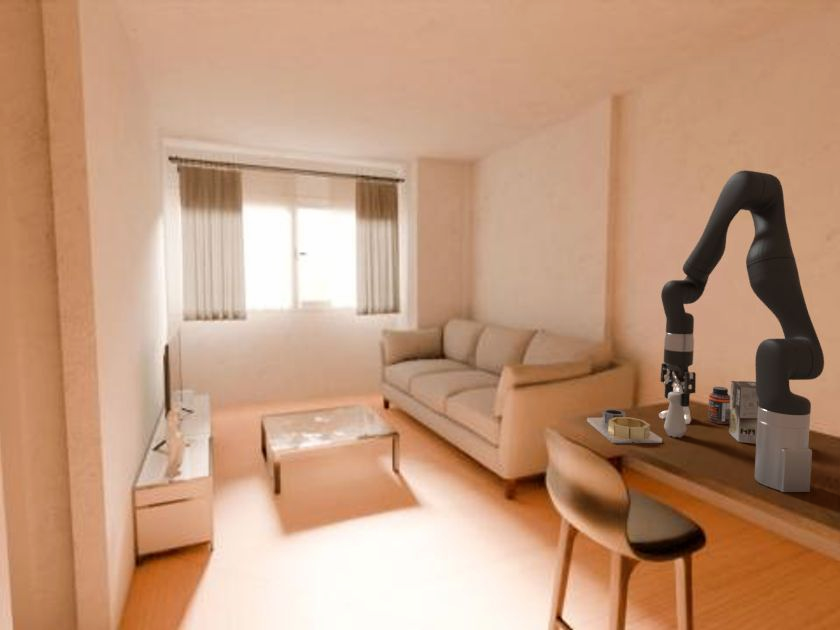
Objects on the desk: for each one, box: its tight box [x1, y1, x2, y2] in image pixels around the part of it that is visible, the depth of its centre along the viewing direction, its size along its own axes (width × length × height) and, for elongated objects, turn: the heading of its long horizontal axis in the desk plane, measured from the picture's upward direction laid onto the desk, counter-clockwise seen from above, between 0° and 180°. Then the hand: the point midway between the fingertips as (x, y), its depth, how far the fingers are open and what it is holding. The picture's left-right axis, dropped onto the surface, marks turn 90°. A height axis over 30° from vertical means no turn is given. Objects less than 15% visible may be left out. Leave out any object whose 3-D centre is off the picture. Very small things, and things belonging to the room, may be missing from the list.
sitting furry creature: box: [658, 383, 692, 425], centre depth 151 cm, size 10×9×12 cm
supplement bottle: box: [707, 386, 730, 425], centre depth 147 cm, size 6×6×11 cm
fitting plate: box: [586, 408, 663, 444], centre depth 140 cm, size 20×14×4 cm
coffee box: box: [728, 380, 758, 445], centre depth 132 cm, size 9×6×16 cm
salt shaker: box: [663, 391, 687, 439], centre depth 135 cm, size 6×6×13 cm
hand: (676, 402), depth 135 cm, fingers open, 8 cm apart
